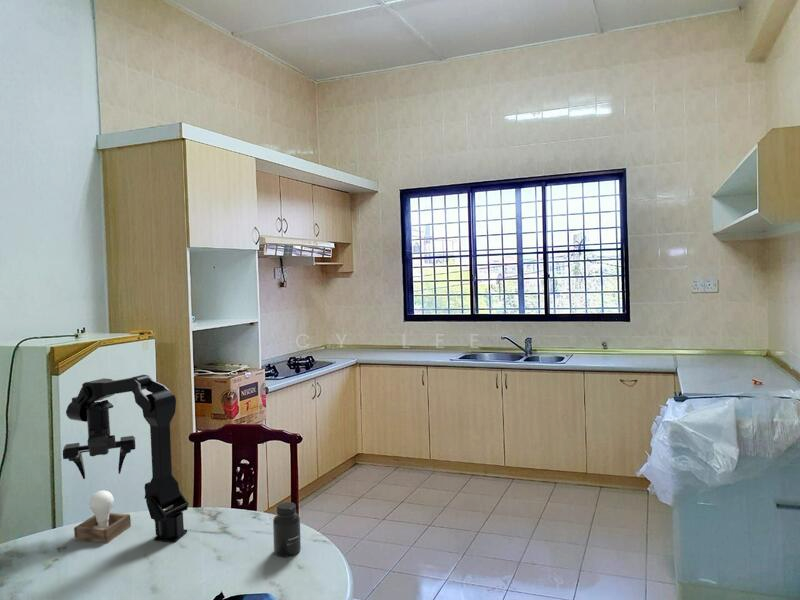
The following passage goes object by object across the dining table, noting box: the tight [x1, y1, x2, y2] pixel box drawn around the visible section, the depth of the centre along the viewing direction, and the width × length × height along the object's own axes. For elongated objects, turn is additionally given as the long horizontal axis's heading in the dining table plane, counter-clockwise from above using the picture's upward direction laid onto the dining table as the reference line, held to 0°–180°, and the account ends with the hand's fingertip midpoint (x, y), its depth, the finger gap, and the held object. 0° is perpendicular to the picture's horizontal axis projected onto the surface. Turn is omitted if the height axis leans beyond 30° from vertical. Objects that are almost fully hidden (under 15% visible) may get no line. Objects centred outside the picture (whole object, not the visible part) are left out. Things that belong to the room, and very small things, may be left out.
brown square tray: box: [73, 512, 132, 544], centre depth 172 cm, size 10×10×4 cm
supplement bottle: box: [272, 501, 302, 557], centre depth 159 cm, size 7×7×12 cm
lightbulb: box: [88, 489, 115, 528], centre depth 172 cm, size 6×6×11 cm
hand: (102, 475), depth 181 cm, fingers open, 9 cm apart
